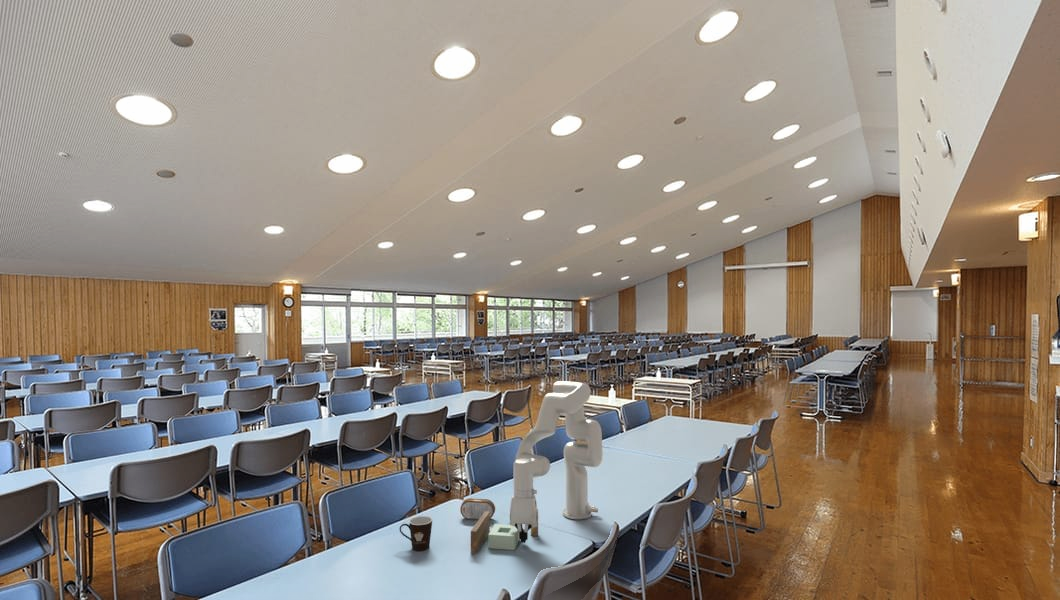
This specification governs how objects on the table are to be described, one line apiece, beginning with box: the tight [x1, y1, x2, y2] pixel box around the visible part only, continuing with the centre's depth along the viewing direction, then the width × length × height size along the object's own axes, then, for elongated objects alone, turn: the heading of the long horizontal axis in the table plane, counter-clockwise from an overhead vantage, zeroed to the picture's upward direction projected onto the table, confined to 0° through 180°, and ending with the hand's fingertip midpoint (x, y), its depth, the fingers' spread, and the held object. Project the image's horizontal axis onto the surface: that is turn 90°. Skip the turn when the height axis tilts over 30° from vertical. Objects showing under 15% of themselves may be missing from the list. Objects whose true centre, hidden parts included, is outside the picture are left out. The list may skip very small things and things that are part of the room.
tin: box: [459, 498, 496, 521], centre depth 219 cm, size 15×3×8 cm, turn 84°
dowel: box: [530, 508, 539, 537], centre depth 203 cm, size 3×3×10 cm
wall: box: [470, 511, 491, 555], centre depth 196 cm, size 2×20×8 cm, turn 170°
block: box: [487, 523, 520, 551], centre depth 195 cm, size 10×10×5 cm
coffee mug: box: [399, 515, 433, 552], centre depth 192 cm, size 12×9×10 cm
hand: (523, 541), depth 193 cm, fingers closed
